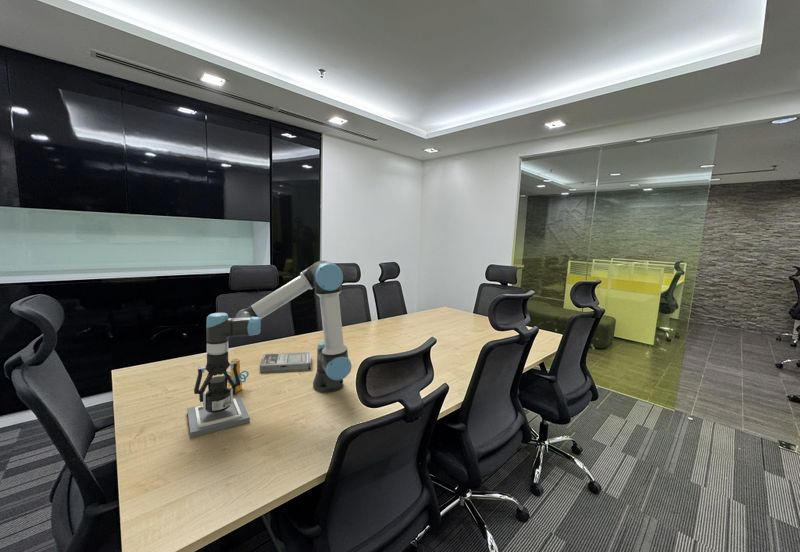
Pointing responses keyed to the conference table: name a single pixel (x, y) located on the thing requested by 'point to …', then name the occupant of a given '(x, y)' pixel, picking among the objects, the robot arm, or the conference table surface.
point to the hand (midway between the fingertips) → (217, 405)
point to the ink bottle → (217, 395)
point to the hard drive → (285, 362)
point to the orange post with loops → (238, 375)
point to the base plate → (216, 418)
